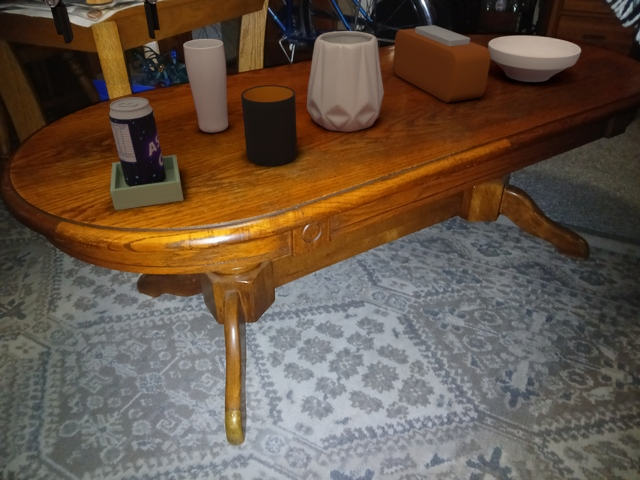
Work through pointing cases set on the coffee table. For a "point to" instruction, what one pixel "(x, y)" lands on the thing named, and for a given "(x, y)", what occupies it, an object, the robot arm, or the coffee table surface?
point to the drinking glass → (208, 82)
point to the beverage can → (137, 141)
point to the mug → (270, 124)
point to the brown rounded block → (441, 62)
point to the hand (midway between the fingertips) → (111, 38)
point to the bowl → (532, 56)
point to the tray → (146, 187)
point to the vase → (345, 81)
